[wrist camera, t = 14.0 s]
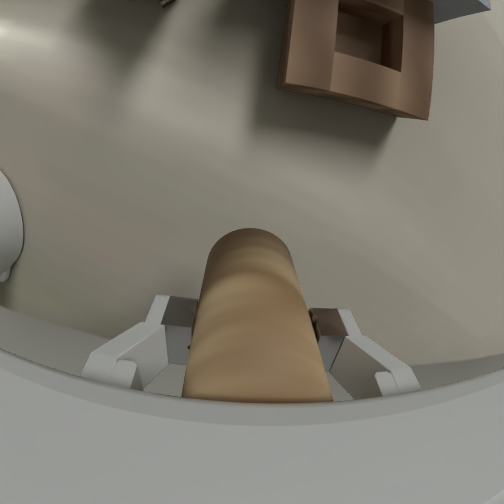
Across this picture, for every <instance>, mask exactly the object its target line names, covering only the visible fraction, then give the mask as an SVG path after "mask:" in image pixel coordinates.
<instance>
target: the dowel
mask: <svg viewBox="0 0 504 504" xmlns="http://www.w3.org/2000/svg"><path fill="white" fill-rule="evenodd" d="M181 397H184V398H193V399H202V400H213V401H225V402H242V403H317V402H333V399H332V394H331V391H330V387H329V383H328V380H327V376H326V372H325V369H324V365H323V361H322V358H321V354H320V351H319V347H318V344H317V340H316V337H315V333H314V330H313V327H312V323H311V320H310V316H309V313H308V310H307V306H306V303H305V300H304V296H303V293H302V290H301V287H300V283H299V280H298V277H297V274H296V271H295V267H294V264H293V261H292V258H291V255H290V252H289V250H288V248H287V246H286V245H285V244H284V243H283V241H282V240H281V239H279V238H278V237H277V236H275V235H274V234H272V233H270V232H268V231H265V230H261V229H256V228H245V229H239V230H235V231H232V232H230V233H228V234H226V235H225V236H223V237H222V238H221V239H219V240H218V241H217V242H216V243H215V245H214V246H213V248H212V249H211V251H210V253H209V256H208V260H207V264H206V269H205V274H204V279H203V283H202V288H201V293H200V298H199V303H198V309H197V314H196V319H195V323H194V330H193V335H192V340H191V344H190V350H189V355H188V361H187V367H186V373H185V378H184V384H183V390H182V396H181Z"/></svg>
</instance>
